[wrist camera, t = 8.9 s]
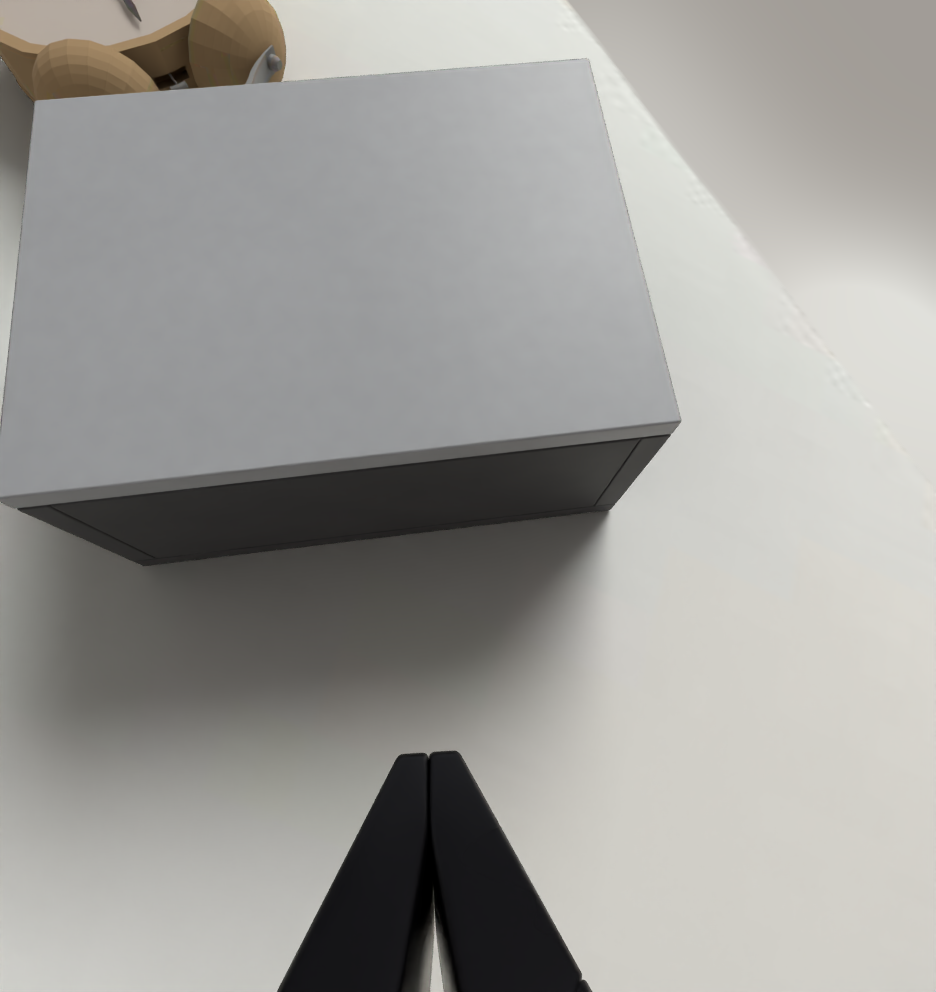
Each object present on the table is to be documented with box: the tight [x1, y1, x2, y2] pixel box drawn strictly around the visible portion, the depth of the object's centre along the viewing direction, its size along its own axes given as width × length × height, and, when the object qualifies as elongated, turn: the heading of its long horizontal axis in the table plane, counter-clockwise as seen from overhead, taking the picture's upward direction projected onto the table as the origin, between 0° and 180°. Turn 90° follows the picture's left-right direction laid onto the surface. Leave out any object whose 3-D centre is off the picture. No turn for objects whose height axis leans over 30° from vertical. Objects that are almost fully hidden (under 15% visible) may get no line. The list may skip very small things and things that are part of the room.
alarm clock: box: [0, 0, 286, 102], centre depth 27 cm, size 11×5×15 cm
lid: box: [0, 58, 681, 508], centre depth 18 cm, size 12×17×1 cm
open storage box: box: [17, 434, 671, 566], centre depth 21 cm, size 12×17×7 cm
